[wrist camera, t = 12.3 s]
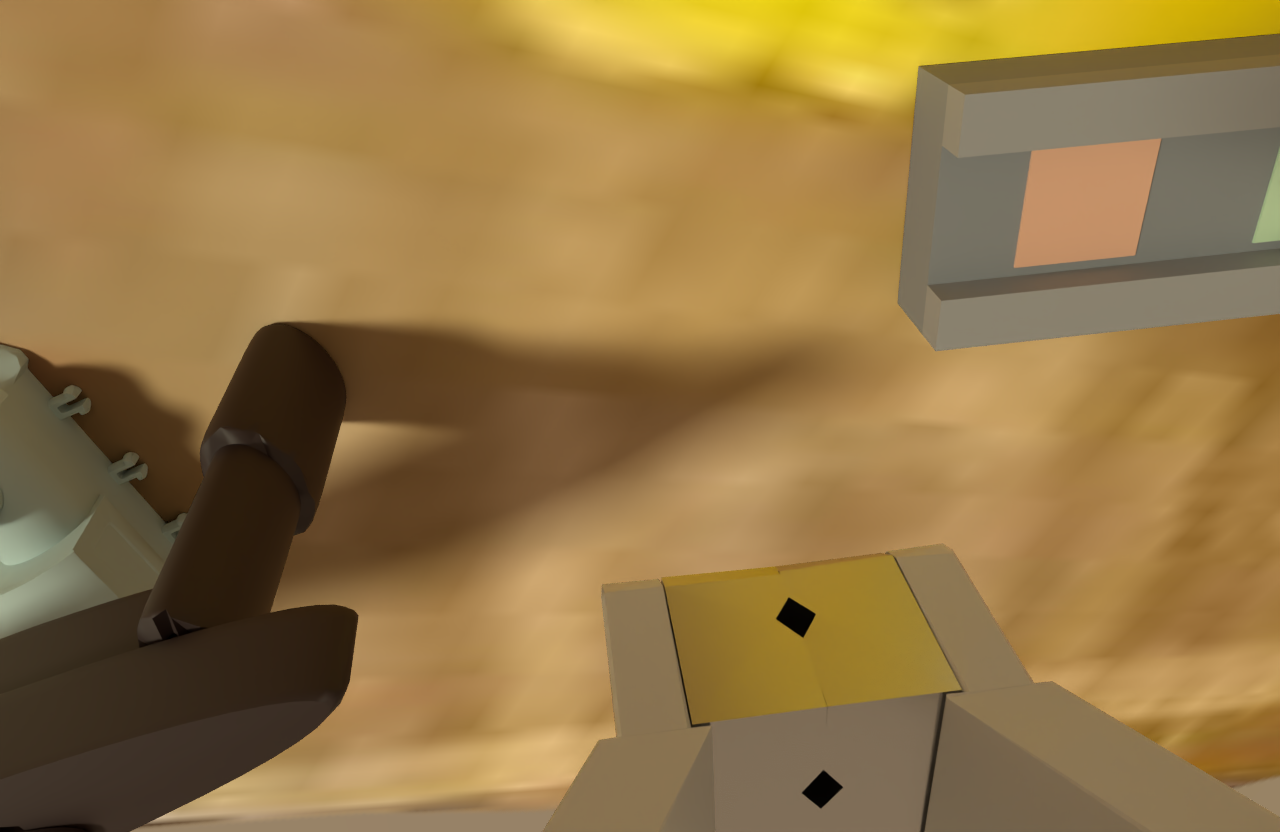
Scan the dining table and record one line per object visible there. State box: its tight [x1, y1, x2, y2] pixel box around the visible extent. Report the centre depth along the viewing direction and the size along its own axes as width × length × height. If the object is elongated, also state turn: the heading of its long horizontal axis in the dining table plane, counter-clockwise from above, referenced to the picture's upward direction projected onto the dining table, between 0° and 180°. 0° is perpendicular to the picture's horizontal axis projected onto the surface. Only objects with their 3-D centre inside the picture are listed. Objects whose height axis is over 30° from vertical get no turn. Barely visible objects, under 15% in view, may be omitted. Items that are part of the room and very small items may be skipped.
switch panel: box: [898, 34, 1280, 351], centre depth 39 cm, size 22×10×4 cm, turn 93°
